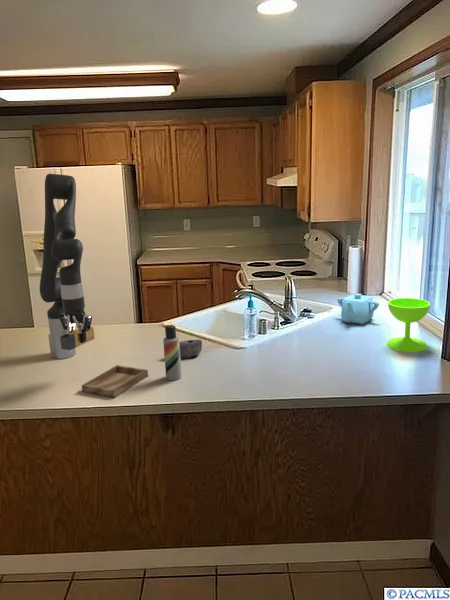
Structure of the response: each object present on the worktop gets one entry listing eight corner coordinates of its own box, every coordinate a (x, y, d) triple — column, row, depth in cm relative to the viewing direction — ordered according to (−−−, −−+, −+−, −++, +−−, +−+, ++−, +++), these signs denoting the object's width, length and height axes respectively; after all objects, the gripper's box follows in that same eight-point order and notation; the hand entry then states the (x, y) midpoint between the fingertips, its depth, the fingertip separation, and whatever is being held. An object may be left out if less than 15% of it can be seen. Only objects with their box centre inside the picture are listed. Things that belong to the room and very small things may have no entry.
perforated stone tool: (166, 361, 204) (164, 344, 203) (166, 356, 210) (164, 340, 208) (203, 358, 206) (202, 341, 204) (202, 353, 211) (201, 337, 209)
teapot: (335, 317, 252) (335, 291, 249) (368, 315, 253) (369, 289, 250) (346, 328, 235) (346, 300, 231) (381, 326, 235) (382, 298, 232)
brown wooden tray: (82, 391, 178) (81, 385, 178) (117, 371, 196) (116, 365, 195) (114, 397, 172) (114, 391, 172) (148, 376, 190) (147, 369, 189)
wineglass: (384, 338, 219) (386, 297, 214) (424, 339, 215) (426, 298, 211) (388, 351, 204) (390, 307, 199) (431, 352, 200) (433, 308, 196)
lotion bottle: (166, 375, 190) (162, 323, 185) (181, 374, 190) (178, 322, 185) (165, 381, 184) (161, 328, 179) (181, 380, 185) (178, 327, 180)
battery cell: (61, 348, 180) (59, 336, 179) (87, 337, 192) (86, 325, 191) (70, 350, 178) (68, 337, 177) (95, 338, 190) (94, 326, 189)
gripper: (95, 294, 180) (100, 340, 185) (64, 292, 187) (70, 336, 191) (81, 299, 174) (86, 347, 178) (49, 296, 180) (55, 343, 184)
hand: (78, 341), depth 184 cm, fingers closed on battery cell, 4 cm apart
